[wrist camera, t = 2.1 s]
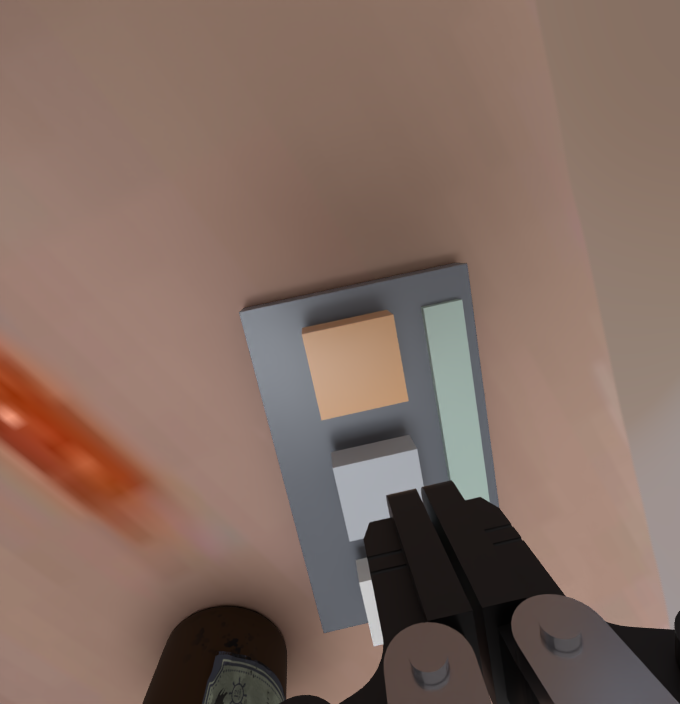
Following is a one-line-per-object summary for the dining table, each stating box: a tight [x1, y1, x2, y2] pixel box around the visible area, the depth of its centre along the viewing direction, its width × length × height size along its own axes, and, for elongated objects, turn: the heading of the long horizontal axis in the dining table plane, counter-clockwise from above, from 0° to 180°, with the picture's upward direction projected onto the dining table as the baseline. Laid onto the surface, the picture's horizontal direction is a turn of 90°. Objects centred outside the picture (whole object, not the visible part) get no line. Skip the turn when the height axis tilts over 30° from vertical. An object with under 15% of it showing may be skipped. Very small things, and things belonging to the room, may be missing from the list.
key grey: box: [331, 435, 424, 541], centre depth 26 cm, size 5×5×2 cm
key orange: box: [302, 310, 409, 420], centre depth 24 cm, size 5×5×2 cm
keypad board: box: [239, 263, 499, 633], centre depth 29 cm, size 14×24×3 cm, turn 12°
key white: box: [356, 558, 383, 646], centre depth 28 cm, size 5×5×2 cm
